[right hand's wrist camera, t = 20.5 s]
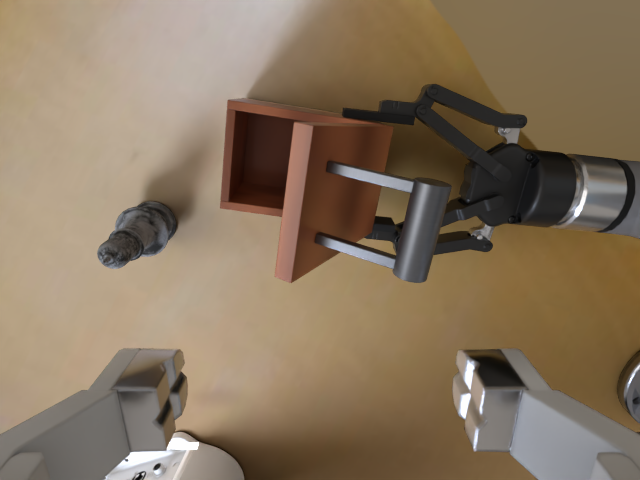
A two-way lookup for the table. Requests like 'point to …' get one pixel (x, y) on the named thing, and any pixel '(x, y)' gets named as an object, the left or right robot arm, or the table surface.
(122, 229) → the grey chess piece
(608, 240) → the table surface
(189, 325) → the table surface
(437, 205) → the lid
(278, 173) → the chest
